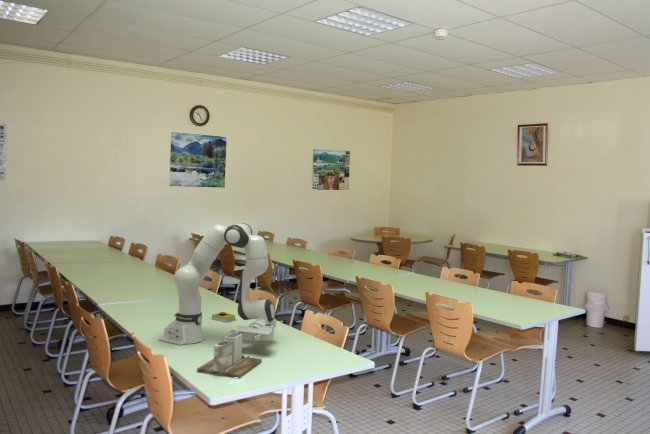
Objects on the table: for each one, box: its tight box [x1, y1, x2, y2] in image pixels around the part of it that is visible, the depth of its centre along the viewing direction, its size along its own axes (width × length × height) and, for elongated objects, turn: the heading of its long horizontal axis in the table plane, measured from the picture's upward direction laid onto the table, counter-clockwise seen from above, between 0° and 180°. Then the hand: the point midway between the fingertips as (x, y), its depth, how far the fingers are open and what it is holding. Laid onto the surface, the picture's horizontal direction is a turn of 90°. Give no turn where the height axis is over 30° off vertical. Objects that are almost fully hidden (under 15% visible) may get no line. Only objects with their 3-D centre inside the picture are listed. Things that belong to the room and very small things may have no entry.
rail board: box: [196, 339, 263, 379], centre depth 237 cm, size 20×22×13 cm
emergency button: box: [209, 311, 238, 324], centre depth 318 cm, size 9×4×15 cm
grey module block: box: [224, 332, 243, 365], centre depth 239 cm, size 5×7×12 cm
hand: (244, 337), depth 249 cm, fingers open, 8 cm apart
